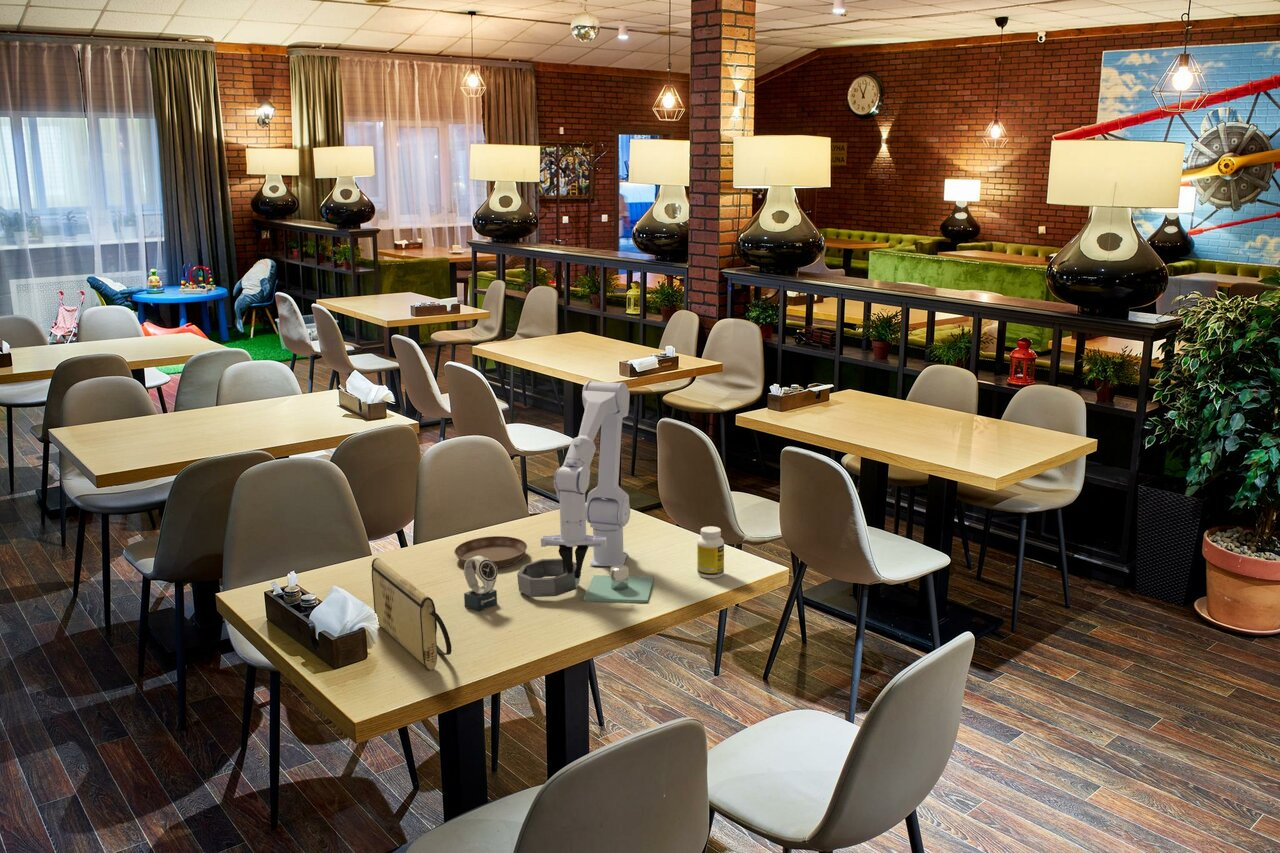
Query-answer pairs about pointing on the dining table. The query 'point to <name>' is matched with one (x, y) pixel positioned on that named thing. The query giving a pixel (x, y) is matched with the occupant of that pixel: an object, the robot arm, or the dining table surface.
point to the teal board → (634, 593)
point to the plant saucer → (492, 550)
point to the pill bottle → (710, 553)
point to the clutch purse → (407, 614)
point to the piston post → (619, 577)
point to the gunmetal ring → (546, 587)
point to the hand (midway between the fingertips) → (574, 576)
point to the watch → (487, 574)
